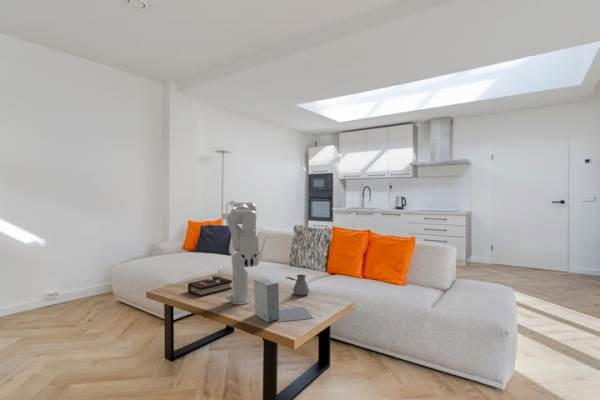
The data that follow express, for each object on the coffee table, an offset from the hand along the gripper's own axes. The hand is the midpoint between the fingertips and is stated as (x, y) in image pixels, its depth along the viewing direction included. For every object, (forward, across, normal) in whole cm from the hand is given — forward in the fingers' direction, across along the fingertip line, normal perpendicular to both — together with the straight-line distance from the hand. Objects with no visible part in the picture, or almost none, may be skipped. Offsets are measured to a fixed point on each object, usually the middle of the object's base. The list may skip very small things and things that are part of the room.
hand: (249, 266), depth 171 cm
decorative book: (+30, -21, +60) cm, 70 cm away
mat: (+29, +24, 0) cm, 38 cm away
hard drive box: (+29, +10, 0) cm, 31 cm away
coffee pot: (+29, +36, +32) cm, 56 cm away
